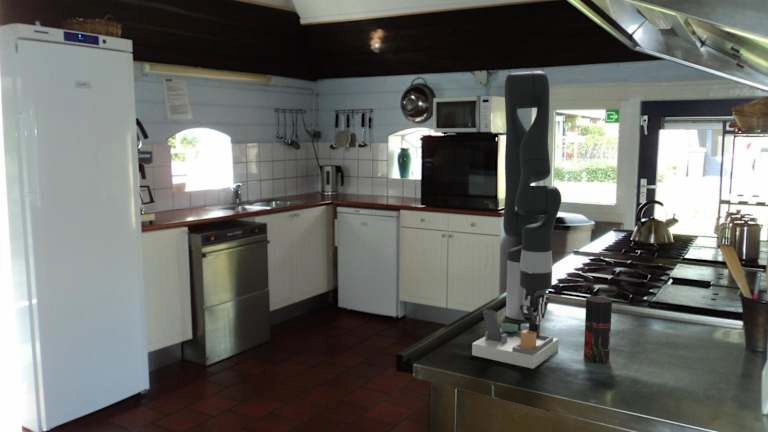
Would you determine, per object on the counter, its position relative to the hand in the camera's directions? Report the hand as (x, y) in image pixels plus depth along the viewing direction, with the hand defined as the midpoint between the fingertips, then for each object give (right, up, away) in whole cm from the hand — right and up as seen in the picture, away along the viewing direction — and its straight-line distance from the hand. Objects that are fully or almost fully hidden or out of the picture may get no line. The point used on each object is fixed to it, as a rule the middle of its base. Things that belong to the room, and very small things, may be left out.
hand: (534, 337), depth 156 cm
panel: (-4, -5, +4) cm, 7 cm away
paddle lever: (-9, -2, +4) cm, 10 cm away
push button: (0, -1, +8) cm, 8 cm away
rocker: (-4, -1, +10) cm, 11 cm away
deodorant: (+15, -5, 0) cm, 16 cm away
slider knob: (-2, -2, -2) cm, 4 cm away
